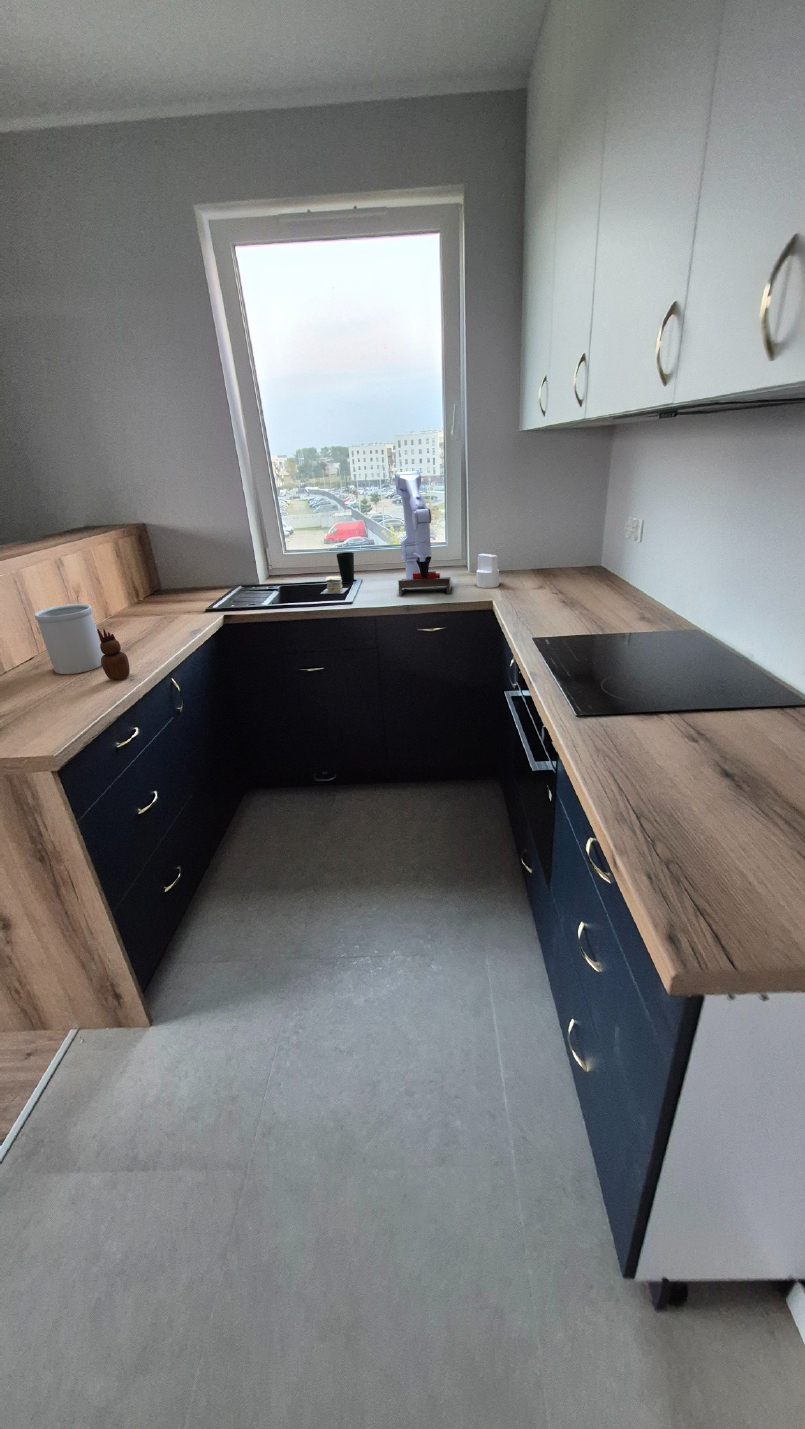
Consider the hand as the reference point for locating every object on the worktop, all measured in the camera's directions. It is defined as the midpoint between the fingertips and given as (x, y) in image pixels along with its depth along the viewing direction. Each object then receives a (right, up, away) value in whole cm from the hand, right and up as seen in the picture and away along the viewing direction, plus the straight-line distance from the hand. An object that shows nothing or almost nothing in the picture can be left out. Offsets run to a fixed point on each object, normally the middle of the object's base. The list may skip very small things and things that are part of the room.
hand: (424, 576), depth 229 cm
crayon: (0, -1, +1) cm, 1 cm away
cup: (-34, +5, +30) cm, 45 cm away
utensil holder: (-106, -41, -55) cm, 126 cm away
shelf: (0, -5, +3) cm, 6 cm away
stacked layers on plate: (-38, -3, +14) cm, 40 cm away
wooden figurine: (-88, -45, -67) cm, 120 cm away
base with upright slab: (+26, -3, +5) cm, 26 cm away
